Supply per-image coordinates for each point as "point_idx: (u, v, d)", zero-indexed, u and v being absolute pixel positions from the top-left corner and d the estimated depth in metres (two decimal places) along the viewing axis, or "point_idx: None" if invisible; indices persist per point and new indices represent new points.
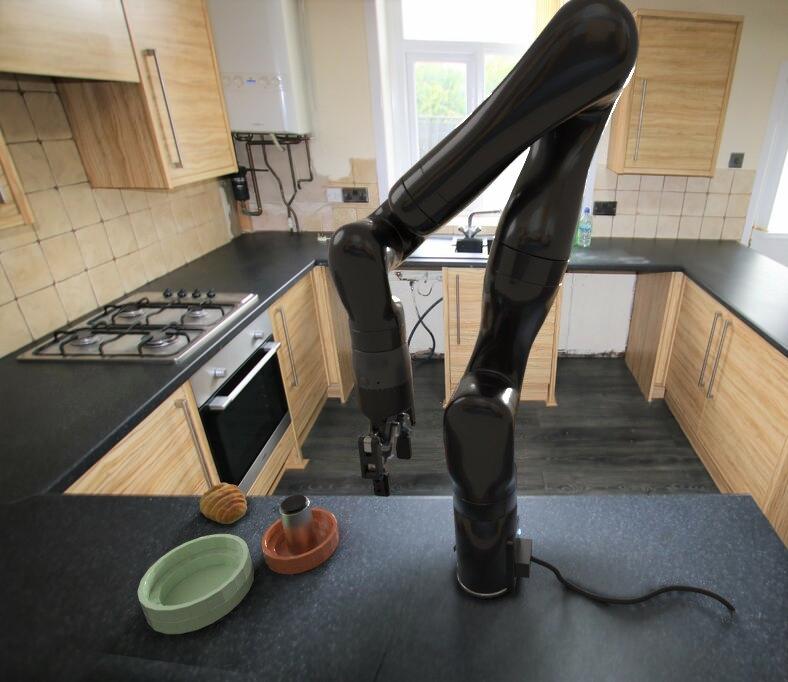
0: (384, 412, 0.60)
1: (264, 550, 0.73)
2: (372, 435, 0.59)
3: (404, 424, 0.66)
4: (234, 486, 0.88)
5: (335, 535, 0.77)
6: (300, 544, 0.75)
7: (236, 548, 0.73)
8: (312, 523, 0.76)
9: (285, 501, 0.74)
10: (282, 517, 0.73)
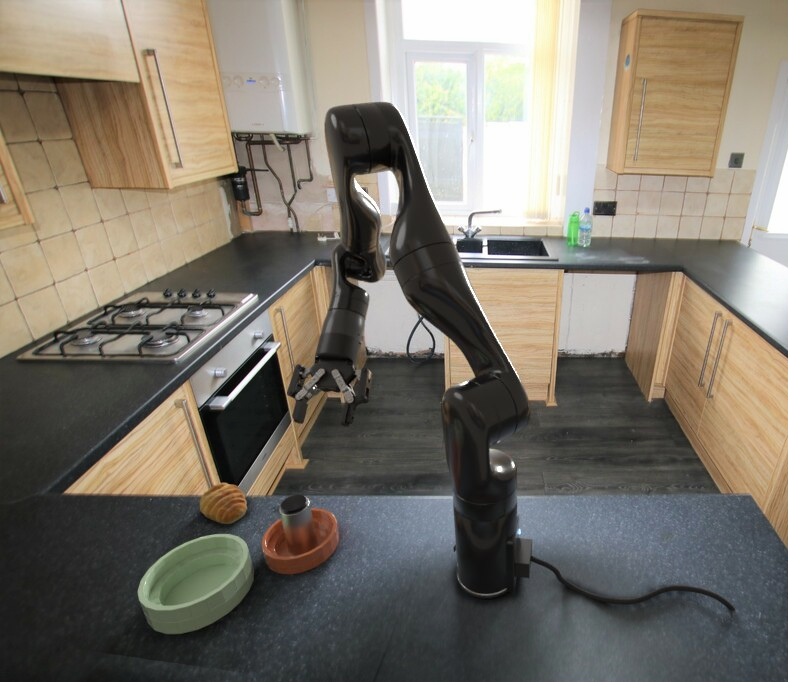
0: None
1: (264, 550, 0.73)
2: (305, 367, 0.86)
3: (335, 379, 0.83)
4: (234, 486, 0.88)
5: (335, 535, 0.77)
6: (300, 544, 0.75)
7: (236, 548, 0.73)
8: (312, 523, 0.76)
9: (285, 501, 0.74)
10: (282, 517, 0.73)
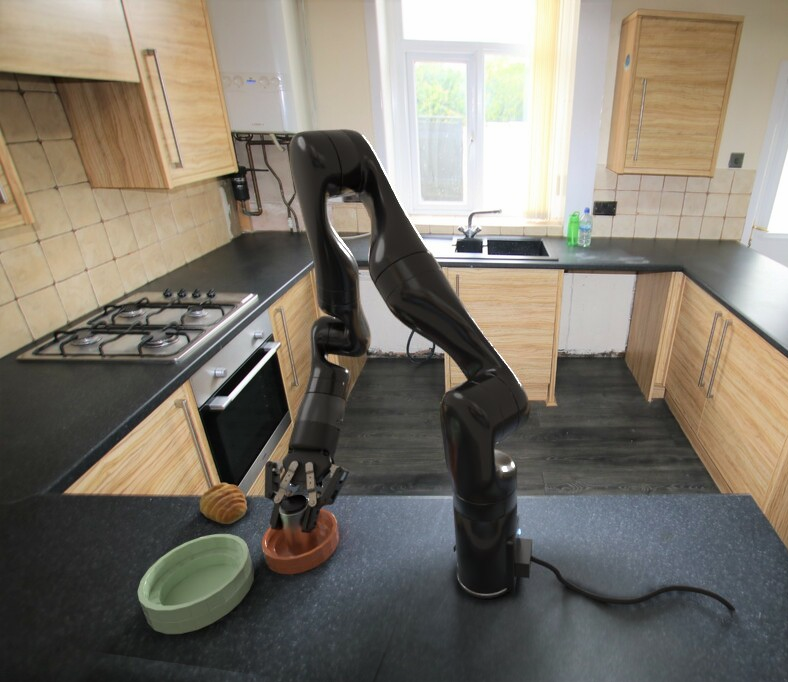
0: None
1: (264, 550, 0.73)
2: (276, 462, 0.78)
3: (306, 473, 0.75)
4: (234, 486, 0.88)
5: (335, 535, 0.77)
6: (301, 544, 0.75)
7: (236, 548, 0.73)
8: None
9: (285, 501, 0.74)
10: (282, 517, 0.73)
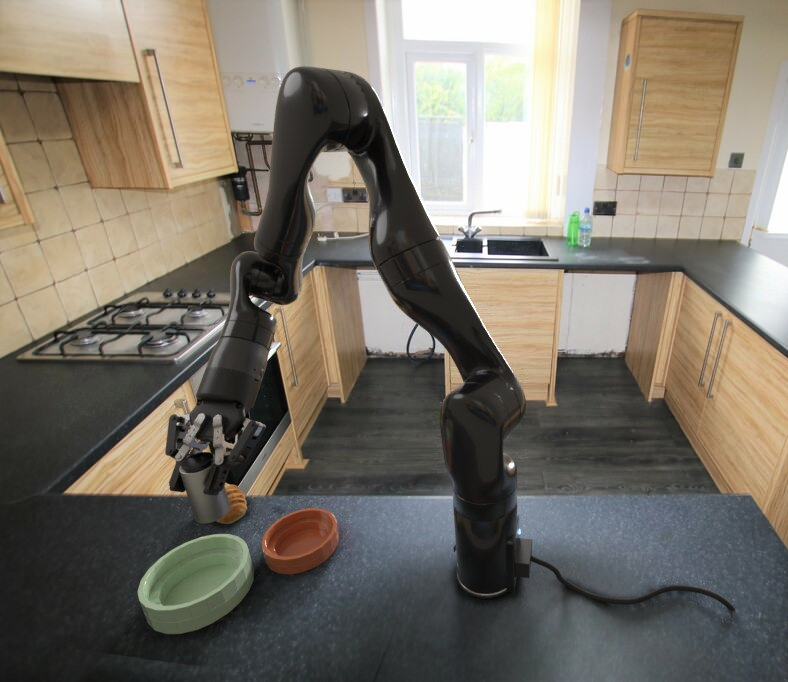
0: None
1: (264, 550, 0.73)
2: None
3: (214, 427, 0.65)
4: (234, 486, 0.88)
5: (335, 535, 0.77)
6: (206, 508, 0.64)
7: (236, 548, 0.73)
8: None
9: (188, 459, 0.64)
10: (182, 476, 0.63)
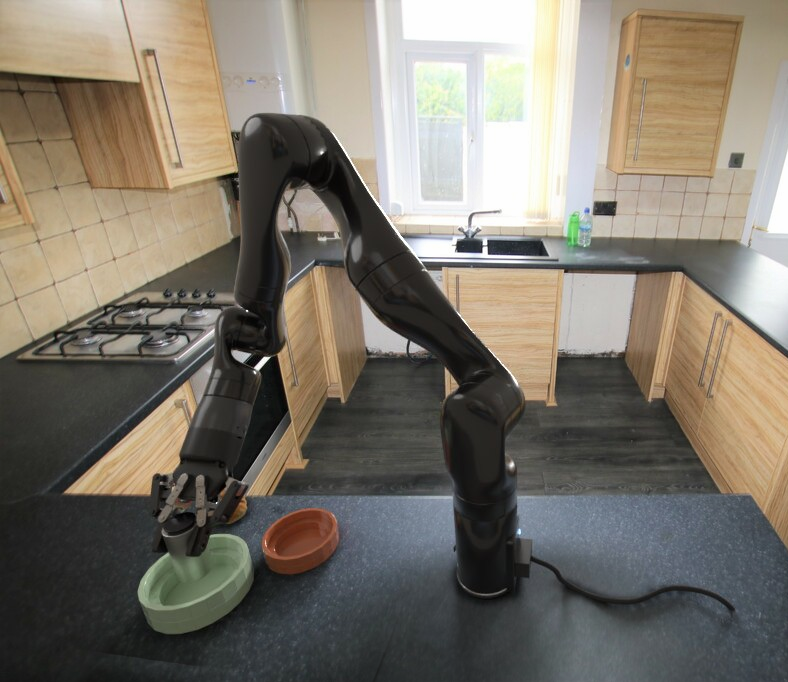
0: None
1: (264, 550, 0.73)
2: (167, 474, 0.69)
3: (196, 488, 0.66)
4: None
5: (335, 535, 0.77)
6: (188, 568, 0.65)
7: (236, 548, 0.73)
8: None
9: (170, 520, 0.65)
10: (164, 539, 0.63)
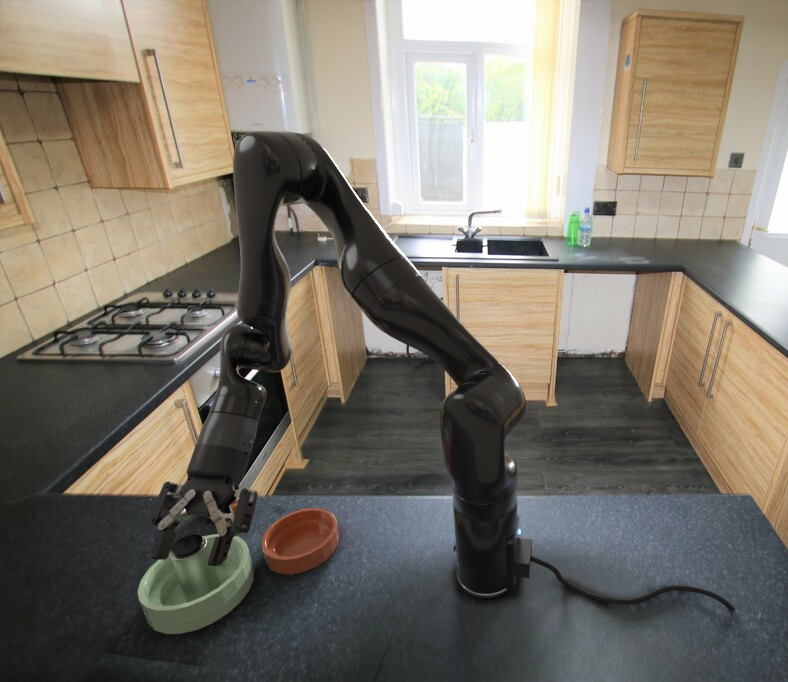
0: None
1: (264, 550, 0.73)
2: (177, 484, 0.71)
3: (206, 504, 0.67)
4: None
5: (335, 535, 0.77)
6: (196, 590, 0.67)
7: (236, 548, 0.73)
8: (211, 566, 0.68)
9: (178, 542, 0.66)
10: (172, 561, 0.65)
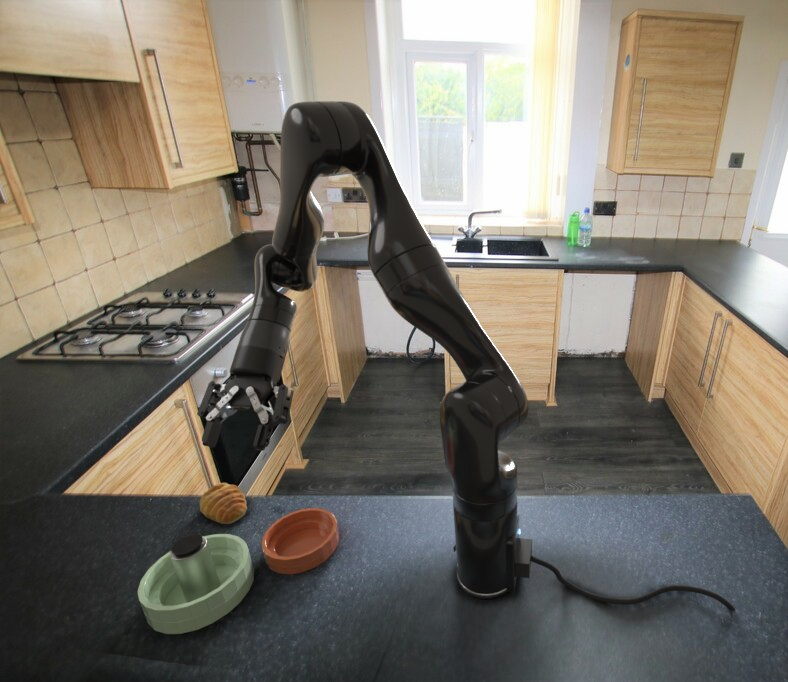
0: None
1: (264, 550, 0.73)
2: (221, 384, 0.78)
3: (249, 397, 0.75)
4: (234, 486, 0.88)
5: (335, 535, 0.77)
6: (196, 590, 0.67)
7: (236, 548, 0.73)
8: (211, 566, 0.68)
9: (178, 542, 0.66)
10: (172, 561, 0.65)
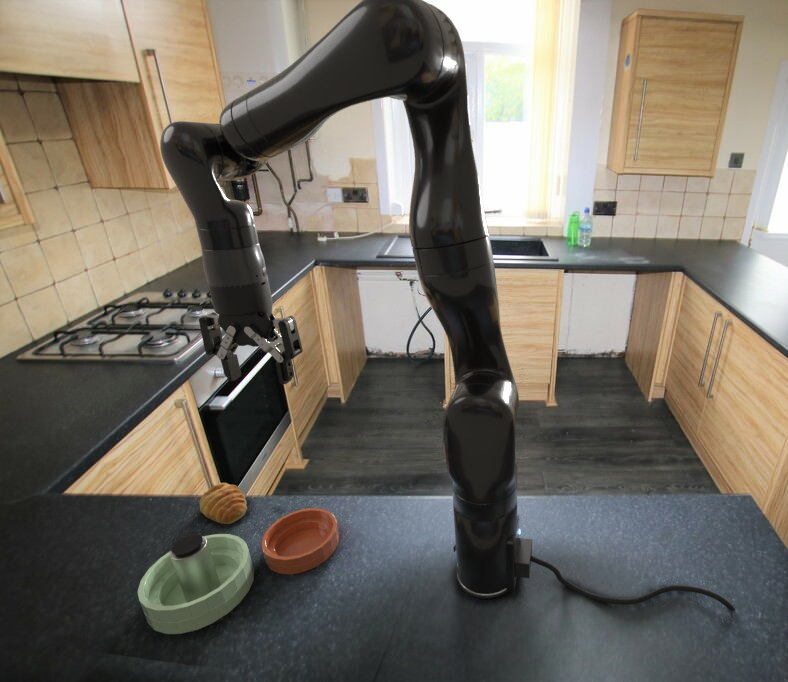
0: None
1: (264, 550, 0.73)
2: (212, 316, 0.69)
3: (252, 337, 0.68)
4: (234, 486, 0.88)
5: (335, 535, 0.77)
6: (196, 590, 0.67)
7: (236, 548, 0.73)
8: (211, 566, 0.68)
9: (178, 542, 0.66)
10: (172, 561, 0.65)
